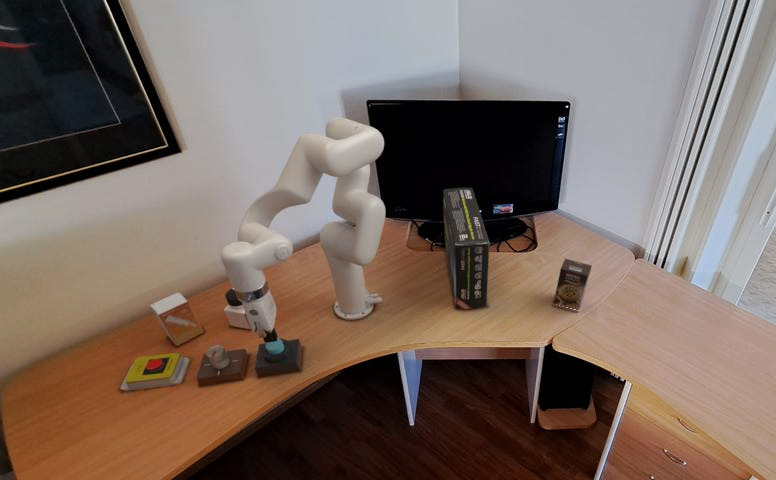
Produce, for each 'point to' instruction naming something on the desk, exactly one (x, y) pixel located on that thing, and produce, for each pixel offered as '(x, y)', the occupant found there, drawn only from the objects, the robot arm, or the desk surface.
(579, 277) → the coffee box
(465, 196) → the router box
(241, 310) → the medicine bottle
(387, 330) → the desk surface
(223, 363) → the dial
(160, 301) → the small box
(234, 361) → the rotary knob switch
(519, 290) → the desk surface
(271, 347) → the teal button cap
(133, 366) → the emergency button
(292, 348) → the button housing
